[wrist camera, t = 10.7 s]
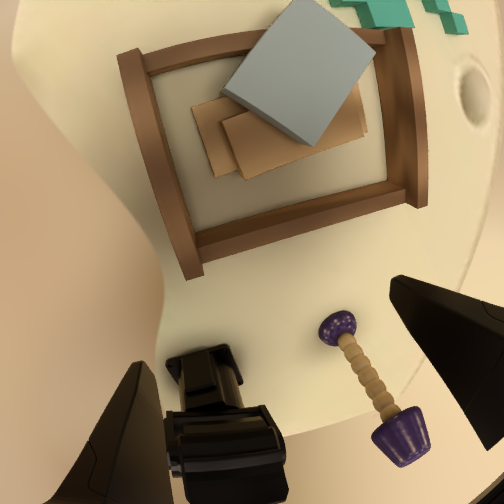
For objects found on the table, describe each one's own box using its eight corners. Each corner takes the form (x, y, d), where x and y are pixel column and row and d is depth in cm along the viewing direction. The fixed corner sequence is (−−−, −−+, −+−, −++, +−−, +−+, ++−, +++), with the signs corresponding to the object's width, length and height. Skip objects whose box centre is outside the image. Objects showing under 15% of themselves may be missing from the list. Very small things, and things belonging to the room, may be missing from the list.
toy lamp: (344, 342, 31) (421, 460, 16) (308, 347, 30) (380, 481, 15) (359, 309, 29) (453, 430, 14) (321, 311, 28) (413, 454, 13)
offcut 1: (357, 130, 21) (367, 132, 20) (213, 173, 20) (215, 177, 19) (344, 71, 18) (354, 70, 17) (190, 108, 18) (191, 107, 16)
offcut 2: (353, 134, 19) (364, 136, 18) (240, 175, 19) (245, 180, 18) (338, 83, 17) (349, 82, 16) (219, 120, 17) (222, 121, 16)
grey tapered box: (359, 56, 15) (300, 144, 17) (289, 2, 13) (220, 92, 15) (376, 52, 14) (313, 147, 16) (301, -8, 11) (224, 87, 13)
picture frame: (397, 191, 23) (427, 205, 20) (184, 252, 21) (185, 280, 18) (379, 35, 17) (411, 28, 13) (128, 66, 15) (116, 55, 11)
